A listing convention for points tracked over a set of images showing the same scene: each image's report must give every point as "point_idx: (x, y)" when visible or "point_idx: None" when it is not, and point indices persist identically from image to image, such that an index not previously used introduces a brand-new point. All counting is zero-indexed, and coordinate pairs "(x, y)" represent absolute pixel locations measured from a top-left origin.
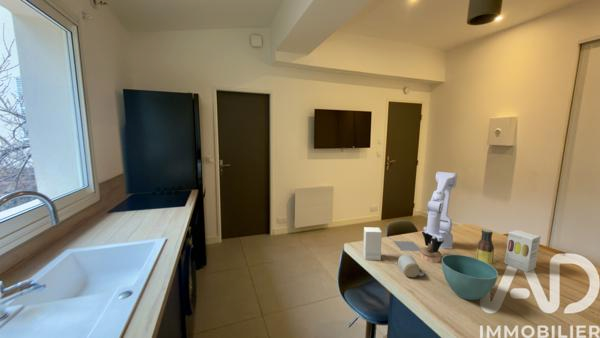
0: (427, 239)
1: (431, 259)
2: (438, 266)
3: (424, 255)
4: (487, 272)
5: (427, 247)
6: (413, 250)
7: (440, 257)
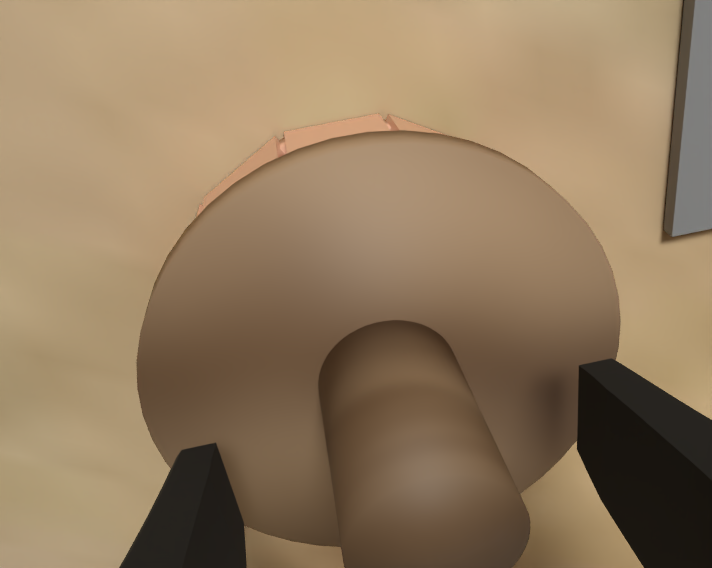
0: (707, 548)
1: None
2: (66, 351)
3: None
4: None
5: None
6: (701, 26)
7: None
